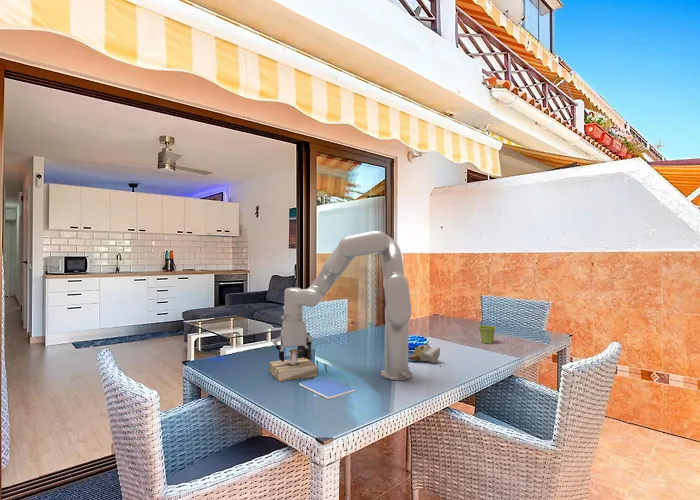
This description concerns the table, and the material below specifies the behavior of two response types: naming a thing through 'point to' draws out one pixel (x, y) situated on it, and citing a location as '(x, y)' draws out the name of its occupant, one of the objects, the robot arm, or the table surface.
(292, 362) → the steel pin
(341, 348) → the table surface
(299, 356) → the supplement bottle
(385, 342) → the robot arm
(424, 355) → the ceramic sculpture
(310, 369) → the block
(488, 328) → the plant pot
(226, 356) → the table surface
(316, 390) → the tablet computer
